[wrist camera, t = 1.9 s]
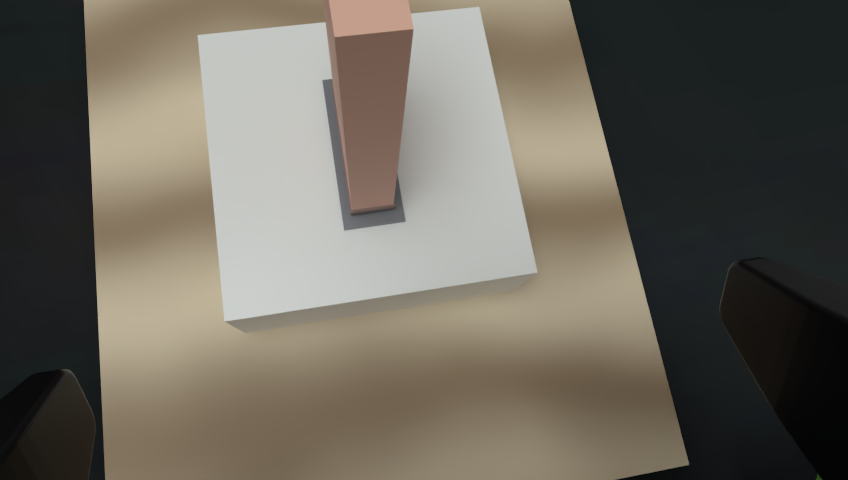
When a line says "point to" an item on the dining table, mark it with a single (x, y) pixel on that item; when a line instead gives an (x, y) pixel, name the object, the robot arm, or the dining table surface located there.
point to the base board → (376, 332)
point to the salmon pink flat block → (369, 93)
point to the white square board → (326, 186)
